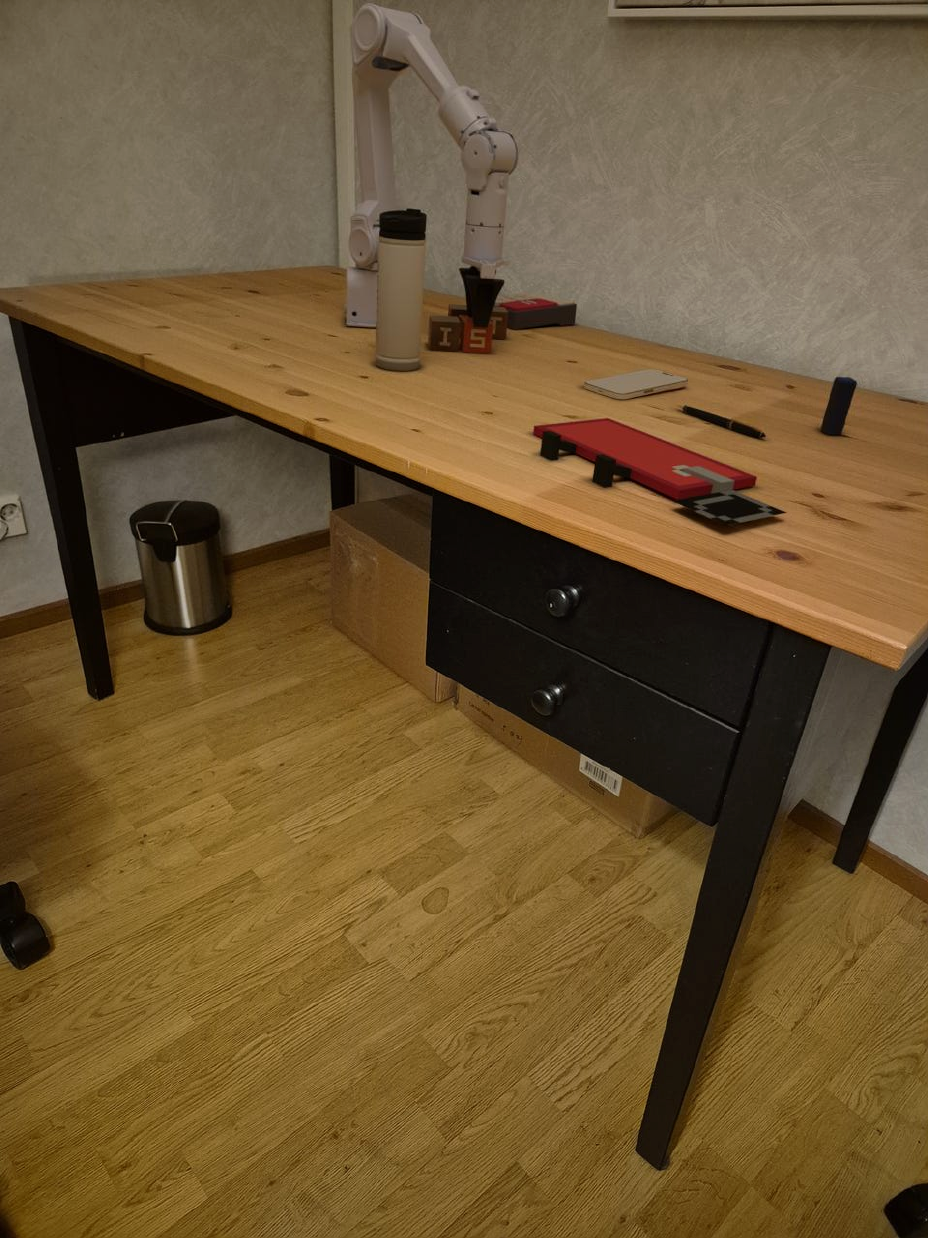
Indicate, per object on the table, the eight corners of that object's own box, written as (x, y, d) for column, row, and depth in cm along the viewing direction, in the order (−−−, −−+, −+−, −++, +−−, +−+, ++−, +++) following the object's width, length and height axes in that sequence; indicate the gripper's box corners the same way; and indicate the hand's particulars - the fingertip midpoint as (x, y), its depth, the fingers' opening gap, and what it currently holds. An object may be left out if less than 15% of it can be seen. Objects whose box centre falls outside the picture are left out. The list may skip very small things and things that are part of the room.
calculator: (476, 296, 156) (538, 289, 164) (475, 321, 158) (536, 312, 166) (515, 307, 149) (578, 299, 157) (514, 333, 151) (576, 324, 159)
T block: (479, 338, 142) (481, 310, 140) (476, 332, 146) (478, 305, 144) (505, 339, 143) (508, 312, 140) (501, 334, 146) (504, 307, 144)
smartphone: (581, 381, 118) (651, 367, 127) (580, 389, 119) (649, 375, 127) (621, 394, 113) (691, 379, 122) (620, 403, 114) (690, 387, 123)
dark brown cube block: (449, 336, 141) (451, 308, 139) (447, 331, 145) (448, 303, 143) (476, 338, 142) (478, 310, 140) (472, 332, 146) (474, 305, 144)
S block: (462, 352, 132) (464, 322, 130) (459, 345, 136) (461, 316, 134) (490, 353, 133) (493, 324, 130) (487, 347, 136) (489, 318, 134)
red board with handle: (709, 539, 75) (815, 515, 83) (716, 508, 73) (823, 487, 81) (506, 441, 96) (606, 429, 104) (508, 416, 95) (609, 406, 103)
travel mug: (428, 365, 123) (436, 211, 113) (406, 373, 118) (413, 213, 108) (390, 358, 125) (395, 206, 115) (367, 366, 120) (370, 207, 110)
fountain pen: (670, 410, 112) (673, 398, 111) (676, 409, 113) (679, 397, 112) (762, 442, 102) (765, 430, 102) (768, 441, 103) (771, 428, 102)
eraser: (818, 430, 108) (834, 375, 105) (835, 431, 109) (851, 376, 105) (825, 435, 107) (841, 380, 103) (842, 436, 107) (859, 381, 103)
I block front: (430, 350, 131) (431, 320, 129) (428, 344, 135) (429, 315, 133) (458, 352, 132) (460, 322, 130) (455, 345, 136) (457, 316, 134)
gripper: (519, 231, 120) (510, 332, 126) (504, 222, 132) (496, 314, 139) (469, 228, 119) (462, 330, 126) (459, 218, 131) (453, 311, 138)
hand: (477, 321), depth 132 cm, fingers open, 7 cm apart
